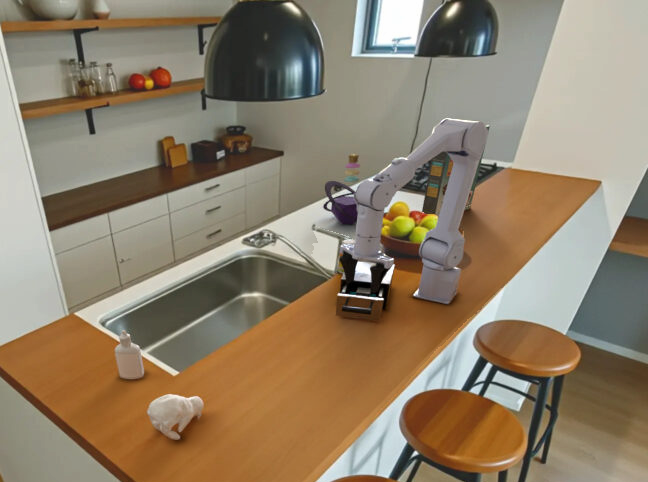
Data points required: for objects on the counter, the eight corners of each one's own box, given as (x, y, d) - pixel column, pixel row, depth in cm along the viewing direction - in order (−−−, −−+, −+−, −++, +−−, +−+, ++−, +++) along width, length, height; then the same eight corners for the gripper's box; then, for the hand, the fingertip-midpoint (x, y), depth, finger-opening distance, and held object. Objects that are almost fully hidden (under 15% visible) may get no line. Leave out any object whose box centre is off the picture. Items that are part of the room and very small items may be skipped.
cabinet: (385, 310, 128) (389, 284, 123) (338, 304, 132) (341, 279, 128) (390, 289, 138) (394, 264, 133) (347, 284, 142) (349, 260, 138)
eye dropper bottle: (134, 384, 108) (125, 338, 101) (117, 376, 110) (107, 331, 104) (147, 374, 110) (139, 329, 104) (130, 367, 113) (121, 323, 107)
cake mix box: (456, 205, 197) (474, 124, 180) (470, 208, 192) (489, 125, 175) (421, 216, 188) (436, 132, 171) (434, 219, 184) (451, 134, 167)
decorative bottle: (366, 234, 176) (375, 162, 162) (312, 228, 185) (315, 160, 171) (381, 216, 192) (390, 149, 178) (330, 212, 201) (334, 148, 187)
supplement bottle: (356, 274, 147) (359, 244, 142) (338, 274, 148) (340, 244, 143) (355, 268, 152) (358, 238, 146) (337, 267, 153) (340, 238, 147)
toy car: (374, 304, 127) (376, 288, 124) (372, 310, 124) (374, 294, 121) (349, 301, 129) (351, 286, 126) (347, 307, 126) (348, 291, 124)
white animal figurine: (142, 397, 89) (189, 374, 96) (145, 433, 93) (190, 408, 100) (164, 411, 85) (212, 386, 92) (166, 448, 89) (212, 421, 96)
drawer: (377, 330, 118) (380, 309, 114) (331, 324, 122) (333, 303, 118) (385, 300, 131) (388, 280, 127) (343, 295, 135) (345, 276, 131)
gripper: (333, 231, 116) (329, 282, 123) (382, 245, 106) (375, 301, 113) (352, 224, 119) (347, 275, 126) (402, 237, 109) (394, 292, 116)
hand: (361, 286), depth 120 cm, fingers open, 7 cm apart
